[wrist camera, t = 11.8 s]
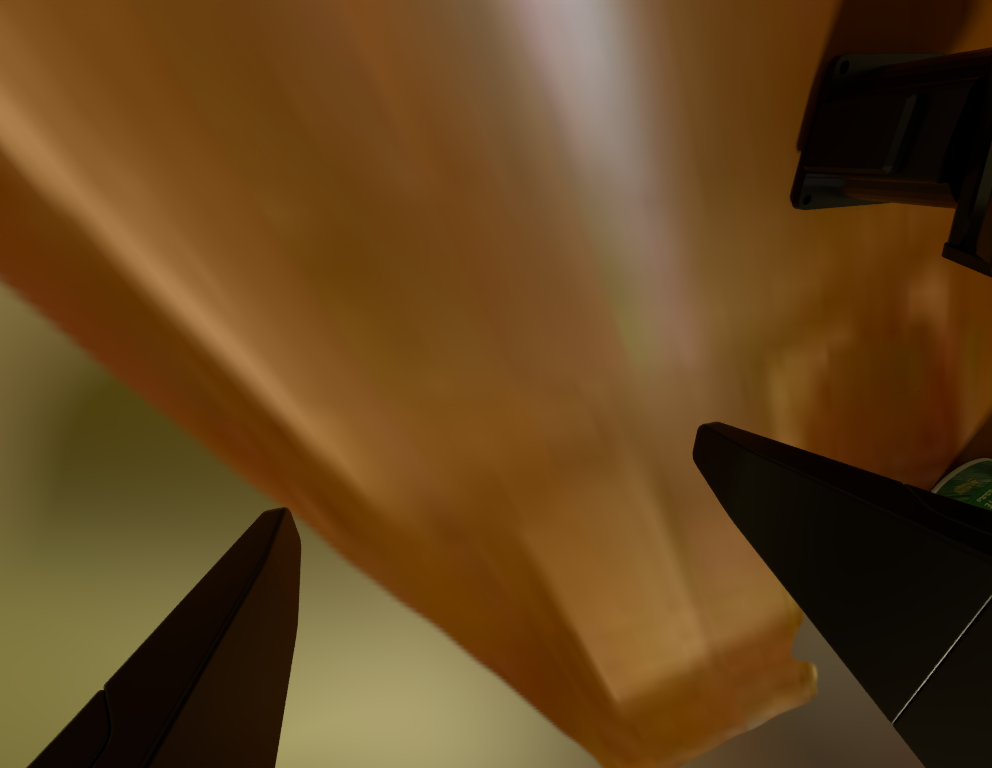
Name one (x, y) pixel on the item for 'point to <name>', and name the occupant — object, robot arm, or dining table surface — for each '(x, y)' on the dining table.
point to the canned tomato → (969, 483)
